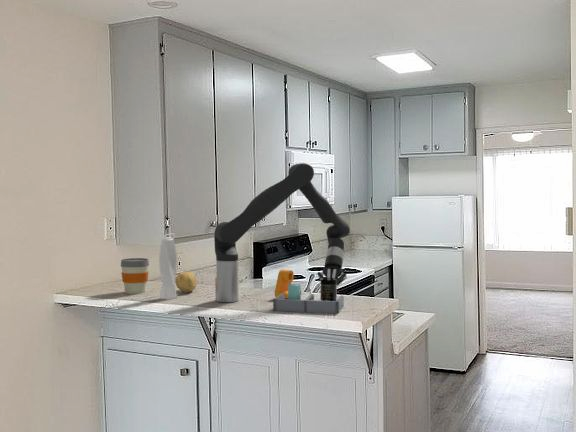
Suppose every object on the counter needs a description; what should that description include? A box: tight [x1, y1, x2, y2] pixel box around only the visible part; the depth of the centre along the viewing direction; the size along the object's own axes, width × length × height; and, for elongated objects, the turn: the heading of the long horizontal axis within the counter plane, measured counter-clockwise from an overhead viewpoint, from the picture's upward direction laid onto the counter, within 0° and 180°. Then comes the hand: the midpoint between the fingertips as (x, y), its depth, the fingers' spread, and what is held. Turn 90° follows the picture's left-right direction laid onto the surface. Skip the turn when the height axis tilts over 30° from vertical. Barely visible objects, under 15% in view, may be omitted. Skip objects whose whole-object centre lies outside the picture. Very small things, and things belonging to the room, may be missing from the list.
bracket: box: [274, 269, 295, 299], centre depth 270 cm, size 11×7×12 cm, turn 147°
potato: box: [175, 270, 198, 293], centre depth 285 cm, size 10×14×10 cm
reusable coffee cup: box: [120, 257, 150, 295], centre depth 284 cm, size 13×13×15 cm
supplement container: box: [319, 277, 338, 301], centre depth 254 cm, size 7×7×10 cm
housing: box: [272, 283, 345, 314], centre depth 245 cm, size 14×26×9 cm, turn 77°
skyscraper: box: [158, 232, 178, 301], centre depth 268 cm, size 8×8×28 cm
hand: (329, 292), depth 258 cm, fingers closed
